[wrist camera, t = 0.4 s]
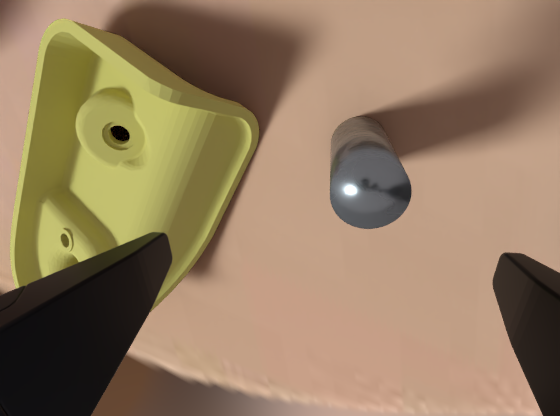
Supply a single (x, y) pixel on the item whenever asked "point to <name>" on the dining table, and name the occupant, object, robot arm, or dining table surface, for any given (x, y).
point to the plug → (366, 175)
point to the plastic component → (120, 156)
